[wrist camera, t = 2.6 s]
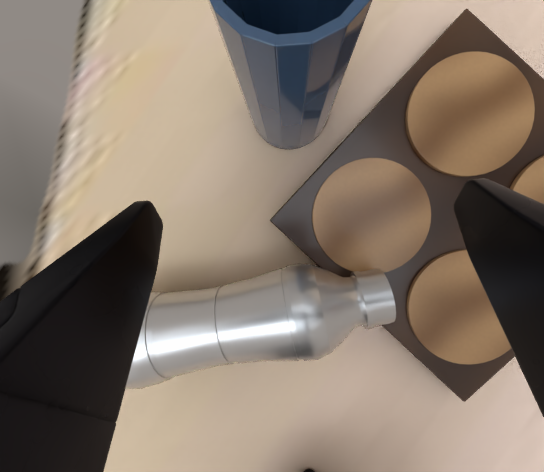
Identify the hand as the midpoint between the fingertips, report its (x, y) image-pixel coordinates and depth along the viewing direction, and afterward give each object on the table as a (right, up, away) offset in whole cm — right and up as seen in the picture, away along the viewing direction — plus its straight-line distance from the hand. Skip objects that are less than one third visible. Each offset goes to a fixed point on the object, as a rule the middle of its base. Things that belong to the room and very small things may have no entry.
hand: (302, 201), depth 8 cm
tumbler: (0, +9, +13) cm, 16 cm away
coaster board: (+13, +1, +13) cm, 18 cm away
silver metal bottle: (-13, -9, +12) cm, 20 cm away
